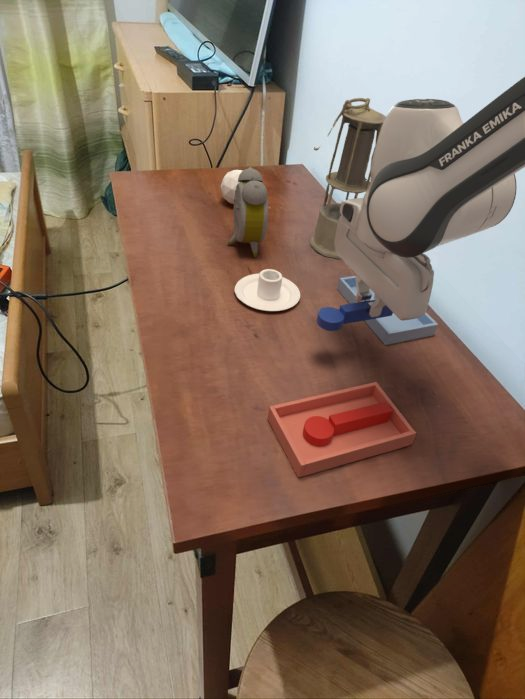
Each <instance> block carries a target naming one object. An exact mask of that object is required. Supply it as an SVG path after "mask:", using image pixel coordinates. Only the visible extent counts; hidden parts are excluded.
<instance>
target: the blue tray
mask: <svg viewBox="0 0 525 699" xmlns="http://www.w3.org/2000/svg"><path fill="white" fill-rule="evenodd" d="M355 278H356V275H352V276H351V275H350V276H345V277H339V279H338V283H337V287H336V289H337V291H338V292H339V293H340V294H341V296H342V297H343V298H344V299H345V300H346V301H347V303H348V304H352V303H358V302H357V301H356V295H357V287H356V279H355ZM369 292H370V293H371V294H372V296H371V299H370V300H376V299H375V298H374V295H375V293H374V292H373V291H372V290H371V289H370V288H369ZM364 322H365V324H366V325H367V326H368V327H369V329H371V330H372V331H373V333H374V334H375V335H376V336H377V338H378V339H379V340H380V341H381V342H382V344H384V346H388V345H393V344H398V343H403V342H407V341H408V342H409V341H412V340H413V341H414V340H417V339H423V338H428V337H432V336H435V334H436V332H437V328H438V327H439V323H438V322H437V321H436V320H435V319H434V318H433V317H432V316H430V315H429V314H428V313H427V312H426V313H425V314H424V315H423V316H421V317H419V318H416V319H411V320H400V319H399V318H398V317H397V316H396V315H395V314H394V313H393V314H392V316H387V317H382V318H376V319H370V320H365V321H364Z"/></svg>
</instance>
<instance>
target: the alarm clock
mask: <svg viewBox="0 0 525 699" xmlns="http://www.w3.org/2000/svg"><path fill="white" fill-rule="evenodd" d="M238 182H240V183H238V184H237V186H236V190H235V197H234V204H233V231H234V232H233V234H232V235H231V237H230V238H229V239H228V241H227V243H226V244H227V245H228V246H231V245H233V244H234V243H236V242H238V243H244V244H245V243H247V244H248V243H249V245H250V249H251V251H252V252H251V253H252V255H253V258H255V257H258V252H259V251H258V248H259V243H262V242H263V241H264V240H265V238H266V235H267V229H268V221H269V220H268V219H269V199H268V189H267V187H266V185H265V184H264V183H263V176H262V174H261V172H260V171H258V170H257V169H255V168H253V167H252V166H249V167H248V168H245V169H243V171H242V172H241V173H240V175H239V178H238ZM241 182H242V183H241Z"/></svg>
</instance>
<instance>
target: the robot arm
mask: <svg viewBox="0 0 525 699" xmlns="http://www.w3.org/2000/svg"><path fill="white" fill-rule="evenodd" d="M385 116H386V118H385V120H384V122H383V125H382V128H381V130H380V133H379V137H378V140H377V143H376V142H375V144H376V147H375V146H374V148H375V151H374V150H373V151H374V155H373V159H372V163H371V162H370V167H371V169H370V168H369V173H370V172H371V177H370V185H369V187H368V189H367V191H366V192H364V195H363V197H357V199H354V198H350V199H349V198H348V200H346V199H343V200H341V202H340V203H341V205H340V214H341V216H340V218H339V220H338V224H337V228H336V234H335V240H334V247H335V252H336V254H337V255H338V256H339V257H340V258H341V259H340V260H342V261H343V262H344V263H345V265H346V266H348V267H349V268H350V269H351V270H352V271H353V272H354V274H355V276H356V278H355V279H356V287H357V295H356V301H357V302H364V301H370V299H371V296H372V294H371V293H370V292H369V288H370V289H371V290H372V291H373V292H374V293H375V295H374V298H375V299H376V301H375V302H374V303H373V302H370V303H368V305H367V309H366V312H367V313H368V314H369V315H370V316H371V317H377V316H379V315H380V314H381V311H382V308H383V307H384V306H385V305H386V306H387V307H388V308H389V309H390V310H391V311H392V312H393V313H394V314H395V315H396V316H397V317H398V318H399V319H400V320H411V319H416V318H419V317H421V316H423V315H424V314H425V313H427V310H428V306H429V303H430V299H431V296H432V292H433V285H434V278H435V271H434V269H433V266H432V264H431V259H430V257H429V255H427V254H426V253H427V252H429V251H431V250H433V249H435V248H437V247H439V246H442V245H446V244H448V243H452V242H454V241H458V240H461V239H463V238H466V237H469V236H472V235H475V234H477V233H481V232H483V231H486V230H488V229H491V228H493V227H496V226H497V225H499V224H500V223H501V222H503V221H504V220H505V218H507V216H508V215H509V213H510V212H511V211H512V208H513V206H514V204H515V200H516V196H517V178H516V173H518V172H519V171H521V170H523V169H524V168H525V76H524V77H522V78H521V79H519V80H518V81H516V83H514V84H513V85H512V86H510V87H509V88H508V89H506V90H505V91H503V92H502V93H501V94H500V95H498V96H497V97H496V98H494V99H493V100H491V102H489V103H488V104H487V105H485V106H484V107H483V108H481V109H480V110H479V111H478V112H476V113H475V114H474V115H472V116H471V117H470V118H469V119H468V120H466V121H465V122H464V121H463V120H462V117H461V114H460V111H459V108H458V107H457V106H456V105H455V104H453V103H451V102H450V101H448V100H443V99H435V98H424V99H423V98H421V99H420V98H415V99H406V100H401V101H398V102H397V103H395V104H394V105H392V106H391V108H390V109H389V111H388V112H387V114H386V115H385Z"/></svg>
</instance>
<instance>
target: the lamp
mask: <svg viewBox="0 0 525 699" xmlns="http://www.w3.org/2000/svg"><path fill="white" fill-rule="evenodd" d="M357 102H363V103H362V104H358V105H354V104H353V105H352V103H357ZM370 103H371V98H369V97H367V98H364V97H355V98H351V99H346V100H344V103H343V105H342V109H341V110H340V112H339V114H338V115H337V117H335V120H334V122H333V123H332V127H331V129H330V130H329V132H328V133H327V137H329V135H330V134H331V132H332V130H333V128H334V127H335V126H336V124H337V122H338V121H339V119H340V118H341V122H340V127H339V130H338V133H337V138H336V142H335V145H334V146H335V147H334V151H333V153H332V158H331V161H330V165H329V170H328V174H327V175H325V181H326V183H327V185H326V188H325V193H324V199H323V204H322V206H321V207H320V208H319V211H318V217H317V220H316V221H317V222H316V225H315V230H314V234H313V235H312V237H311V239H310V241H309V244H310V246H311V247H312V248H313V250H315V251H316V252H317V253H318V254H321V255H322V256H324V257H326V258H327V257H328V258H331V259H336V260H337V259H338V260H342V259H341V258H340V257H339V256H338V255H337V254H336V252H335V247H334V240H335V234H336V228H337V224H338V220H339V218H340V216H341V214H340V205H341V202H340V203H339V202H332V198H333V193H334V191H335V190H339V191H340V192H343V193H344V192H345V193H346V197H345V200H349V196H350V193H351V194H354V198H353V199H357V198H358V196H359V194H363V193H366V191H367V189H368V187H369V185H370V180H371V172H370V171H369V173H368V175H367V176H368V177H367V178H366V173H367V170H368V166H369V162H370V164H371V163H372V159H373V155H374V151H375V147H376V143H377V140H378V137H379V133H380V130H381V128H382V125H383V122H384V120H385V118H386V116H387V115H385V114H383V113H381V112H379V111H377V110H375V109H374V108H371V107H370ZM341 116H342V117H341ZM345 124H347V133H346V135H345V139H344V144H343V148H342V152H341V155H340V161H339V165H338V169H337V171H333V172H332V169H333V167H334V162H335V158H336V154H337V151H338V148H339V144H340V140H341V136H342V132H343V129H344V125H345ZM374 140H375V145H374V148H373V144H374ZM320 148H321V146H319V147H316V146H314V147H313V151H319V149H320ZM372 150H373V151H372ZM371 152H372V153H371ZM371 154H372V155H371ZM370 157H371V158H370ZM370 169H371V166H370V167H369V170H370ZM330 187H331V188H330Z"/></svg>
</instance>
